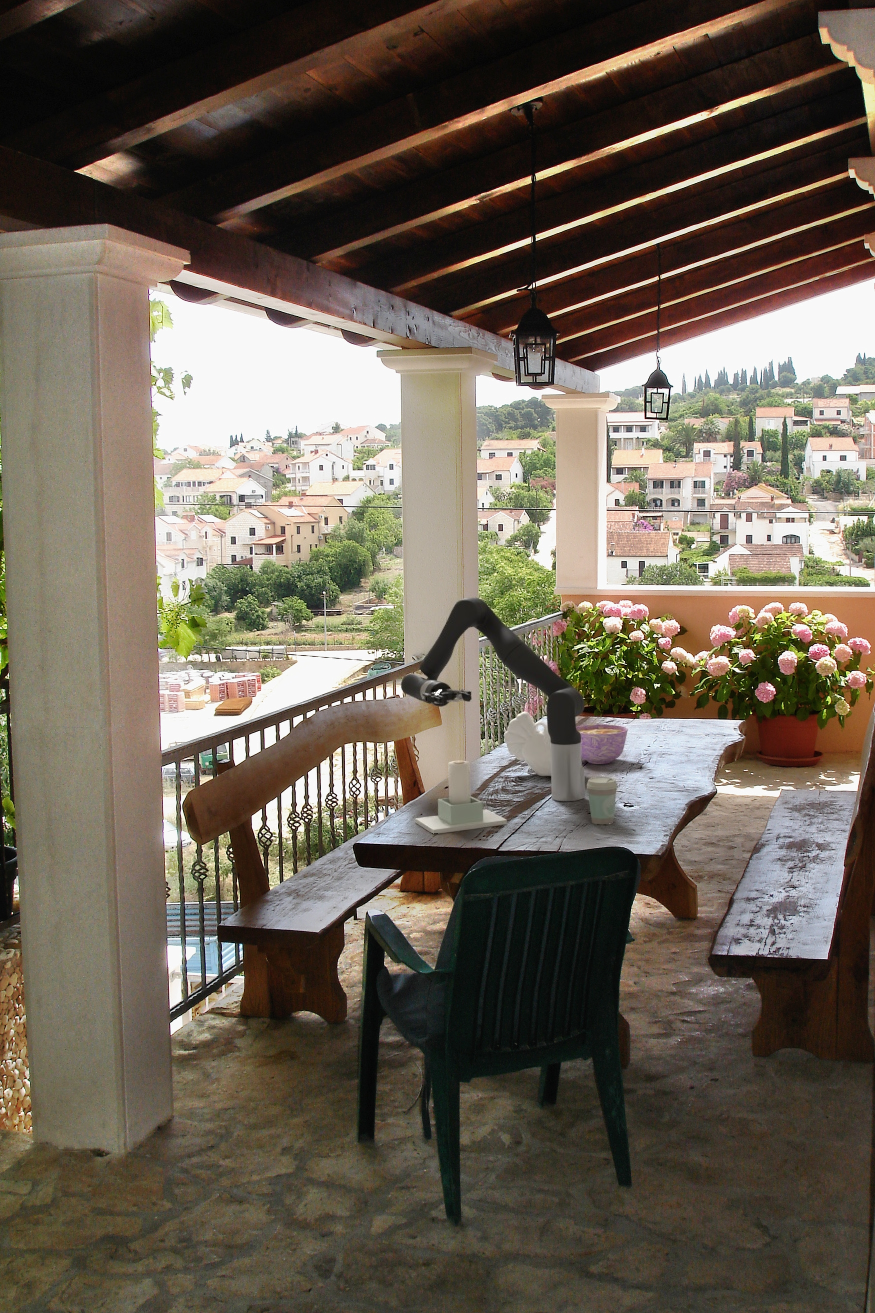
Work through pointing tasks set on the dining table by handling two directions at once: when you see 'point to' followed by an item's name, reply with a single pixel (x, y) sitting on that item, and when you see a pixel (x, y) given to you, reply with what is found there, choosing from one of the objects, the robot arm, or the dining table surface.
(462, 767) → the paper roll
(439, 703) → the robot arm
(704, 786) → the dining table surface
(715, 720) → the dining table surface
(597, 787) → the coffee cup
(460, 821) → the roll caddy
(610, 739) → the bowl of food
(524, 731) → the decorative rooster
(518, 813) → the dining table surface
